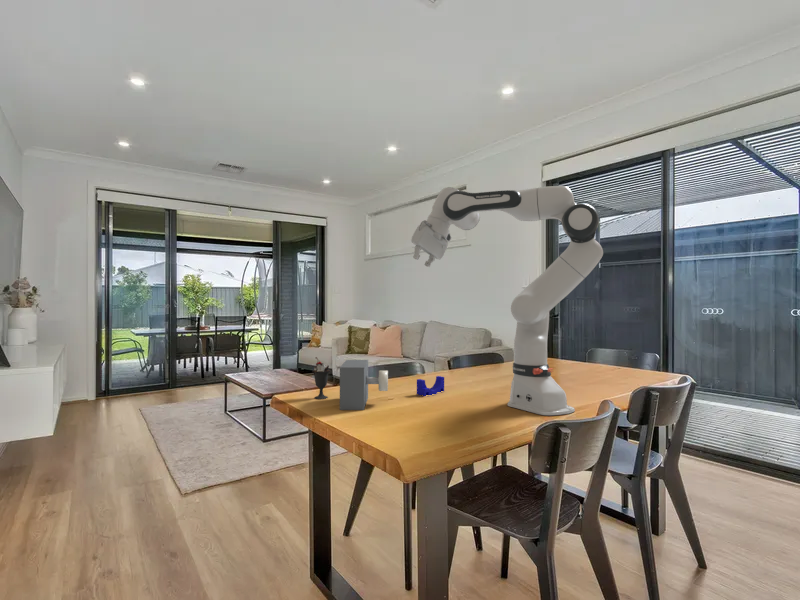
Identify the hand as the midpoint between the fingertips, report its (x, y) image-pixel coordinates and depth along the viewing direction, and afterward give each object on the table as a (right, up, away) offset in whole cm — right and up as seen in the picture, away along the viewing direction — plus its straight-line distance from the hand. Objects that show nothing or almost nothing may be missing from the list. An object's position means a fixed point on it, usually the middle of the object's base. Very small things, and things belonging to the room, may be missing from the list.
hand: (421, 262), depth 161 cm
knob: (-17, -46, -11) cm, 50 cm away
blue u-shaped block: (+4, -51, +5) cm, 51 cm away
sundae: (-37, -50, -3) cm, 63 cm away
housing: (-24, -50, -11) cm, 57 cm away
